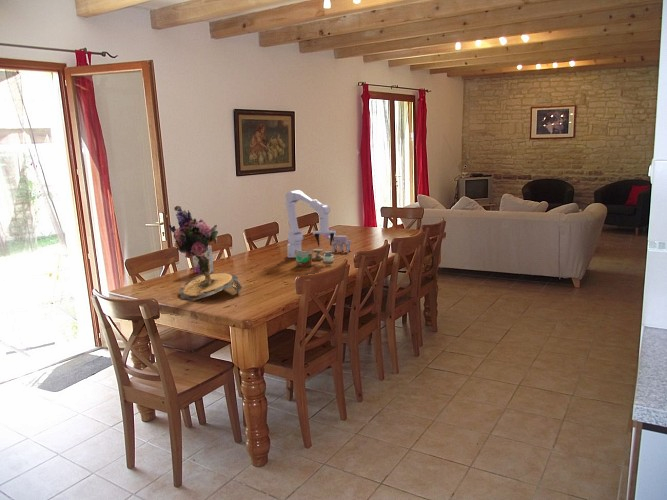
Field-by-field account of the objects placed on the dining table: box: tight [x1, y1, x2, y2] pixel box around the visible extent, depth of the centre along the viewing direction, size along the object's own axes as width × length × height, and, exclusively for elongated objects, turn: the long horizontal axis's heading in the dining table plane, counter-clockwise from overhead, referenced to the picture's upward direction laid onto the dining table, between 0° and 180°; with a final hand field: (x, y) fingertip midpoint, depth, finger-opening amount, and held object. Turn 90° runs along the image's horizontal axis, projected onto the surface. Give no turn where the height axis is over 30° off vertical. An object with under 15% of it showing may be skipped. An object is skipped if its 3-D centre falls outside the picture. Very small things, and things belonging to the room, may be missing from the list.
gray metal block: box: [324, 250, 333, 257], centre depth 342 cm, size 4×4×5 cm
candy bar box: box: [191, 245, 215, 274], centre depth 321 cm, size 11×5×16 cm, turn 74°
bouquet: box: [168, 205, 243, 302], centre depth 275 cm, size 33×44×45 cm
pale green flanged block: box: [323, 253, 334, 263], centre depth 342 cm, size 6×8×4 cm
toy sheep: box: [322, 234, 352, 254], centre depth 371 cm, size 20×11×14 cm, turn 71°
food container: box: [294, 249, 314, 268], centre depth 329 cm, size 12×6×10 cm, turn 62°
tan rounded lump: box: [312, 248, 324, 261], centre depth 349 cm, size 8×8×6 cm
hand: (324, 245), depth 343 cm, fingers open, 7 cm apart
